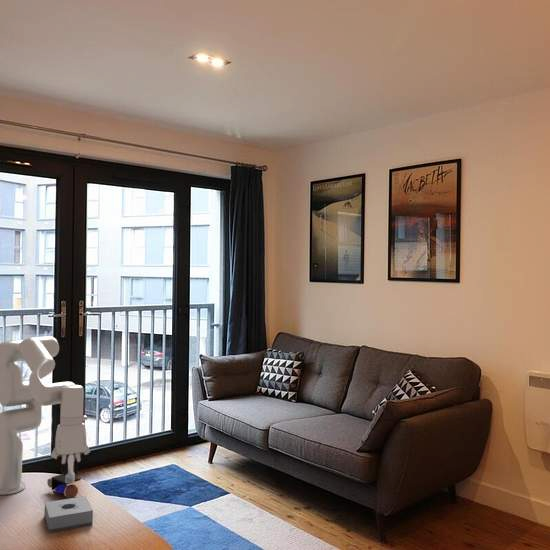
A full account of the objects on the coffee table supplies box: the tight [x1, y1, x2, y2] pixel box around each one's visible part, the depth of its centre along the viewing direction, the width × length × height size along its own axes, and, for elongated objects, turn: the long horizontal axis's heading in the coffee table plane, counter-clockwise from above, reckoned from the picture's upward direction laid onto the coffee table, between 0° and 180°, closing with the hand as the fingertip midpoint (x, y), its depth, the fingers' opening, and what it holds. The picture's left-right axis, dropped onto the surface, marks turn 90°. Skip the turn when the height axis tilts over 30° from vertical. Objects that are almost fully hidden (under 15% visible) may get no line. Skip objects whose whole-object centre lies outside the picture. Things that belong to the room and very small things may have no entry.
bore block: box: [43, 495, 94, 533], centre depth 192 cm, size 14×14×5 cm
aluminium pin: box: [65, 454, 76, 485], centre depth 192 cm, size 3×3×11 cm
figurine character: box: [46, 473, 82, 499], centre depth 216 cm, size 7×8×15 cm
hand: (70, 472), depth 192 cm, fingers closed on aluminium pin, 3 cm apart
